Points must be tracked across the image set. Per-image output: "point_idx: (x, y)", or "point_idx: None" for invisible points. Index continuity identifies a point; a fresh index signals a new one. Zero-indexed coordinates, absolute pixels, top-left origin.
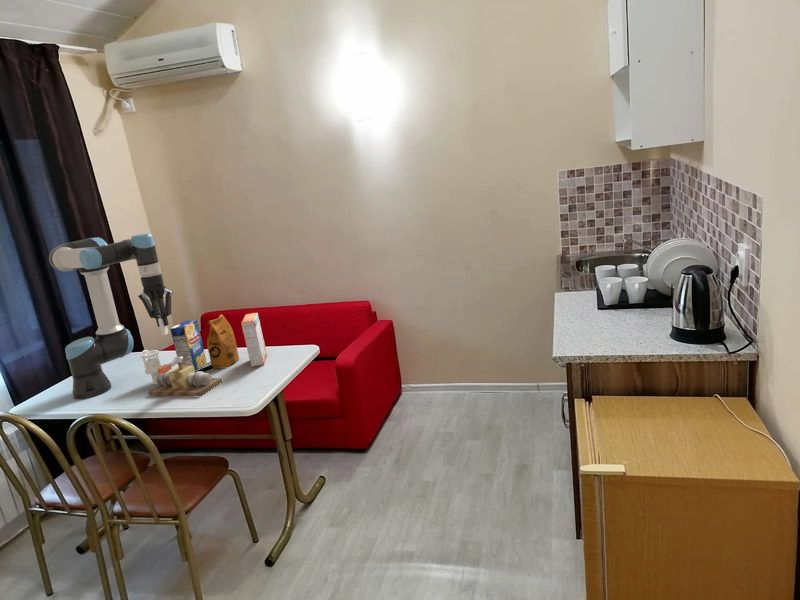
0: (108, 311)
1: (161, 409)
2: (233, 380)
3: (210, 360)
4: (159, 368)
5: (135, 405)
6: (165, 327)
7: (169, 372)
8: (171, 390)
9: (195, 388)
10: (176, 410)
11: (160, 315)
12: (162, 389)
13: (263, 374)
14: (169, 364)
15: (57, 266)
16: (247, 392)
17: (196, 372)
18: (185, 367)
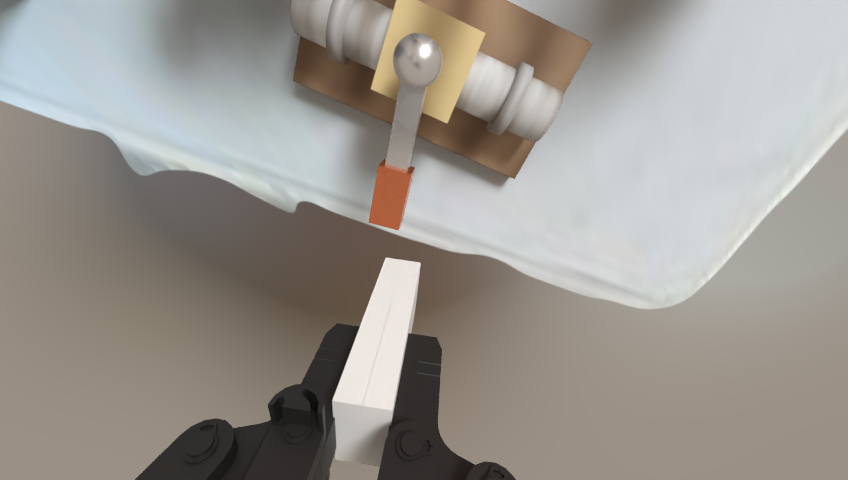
0: None
1: (405, 224)
2: (635, 34)
3: None
4: (376, 219)
5: (296, 157)
6: (409, 332)
7: (375, 90)
8: (393, 112)
9: (490, 132)
10: (456, 248)
11: (322, 443)
12: (347, 82)
13: (789, 6)
14: (407, 180)
15: None
16: (677, 200)
17: (508, 109)
18: (443, 47)
